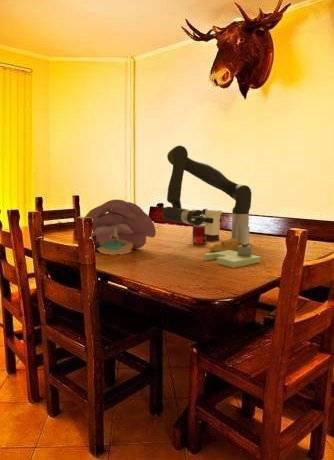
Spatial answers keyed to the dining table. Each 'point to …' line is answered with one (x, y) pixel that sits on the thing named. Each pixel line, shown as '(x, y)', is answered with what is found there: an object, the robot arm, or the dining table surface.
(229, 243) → the croissant
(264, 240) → the dining table surface
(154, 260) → the dining table surface
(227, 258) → the deck
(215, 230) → the beige bar
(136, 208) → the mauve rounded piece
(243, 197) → the robot arm
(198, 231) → the canned food
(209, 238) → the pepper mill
